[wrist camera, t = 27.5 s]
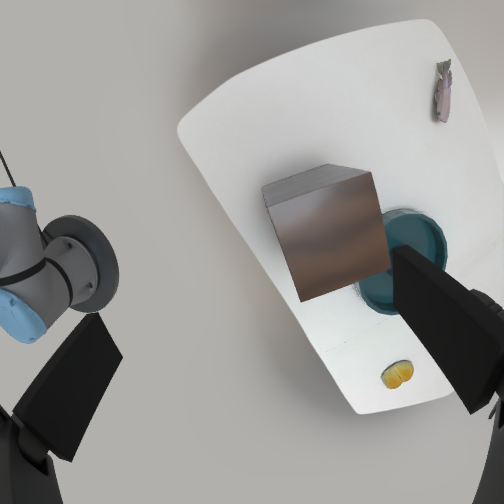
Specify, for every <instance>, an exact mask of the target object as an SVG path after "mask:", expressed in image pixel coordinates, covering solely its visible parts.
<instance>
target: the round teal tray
mask: <svg viewBox="0 0 504 504" xmlns="http://www.w3.org/2000/svg"><path fill="white" fill-rule="evenodd" d="M382 219H383V223H384V228H385V233H386V238H387V244H388V249H389V252H390V251H391V250H392V248H394V247H396V246H398V245H409V246H410V247H412V248H413V249H415V250H416V251H417V252H419V253H420V254H422V255H423V256H425V257H426V258H427V259H429V260H430V261H431V262H433V263H434V264H435V265H437V266H438V267H439V268H441V269H442V270H443V271H445V267H446V262H447V257H448V256H447V242H446V239H445V237H444V234H443V232H442V229H441V228H440V227H439V226H438V225H437V223H436V222H435V221H434V220H433V219H431V218H429V217H427V216H424V215H422V214H420V213H418V212H416V211H413V210H408V209H399V210H393V211H390V212H388V213H385V214H383V215H382ZM354 284H355V287H356V288H357V290H358V291H359V293H360V295H361V296H362V298H363V299H364V301H365V302H366V303H367V305H368V306H369V307H370V308H372V309H374V310H375V311H376V312H378V313H381V314H386V315H397V314H399V313H398V311H397V310H396V309H395V308H394V306H393V278H392V277H391V276H390V275H389V274H388V273H387V271H383V272H381V273H379V274H376V275H374V276H371V277H369V278H366V279H363V280H361V281H358V282H356V283H354Z"/></svg>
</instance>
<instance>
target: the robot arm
mask: <svg viewBox="0 0 504 504" xmlns="http://www.w3.org/2000/svg"><path fill="white" fill-rule="evenodd" d="M0 158H1V160H2V162H3V165H4V167H5V169H6V171H7V174H8V176H9V178H10V180H11V183H12V185H13V187H7V188H0V325H1V326H2V327H3V329H4V330H5V331H6V332H7V333H8V334H9V335H11V336H12V337H13V338H15V339H16V340H18V341H20V342H22V343H27V344H28V343H29V344H30V343H34V342H35V341H36V340H38V339H39V338H40V337H41V336H42V335H43V334H45V333H46V332H47V330H48V328H50V327H51V325H52V324H53V323H54V322H55V321H56V320H57V319H58V318H59V317H60V316H61V315H62V314H63V313H64V312H65V311H66V310H67V308H68V307H69V306H72V305H75V304H78V303H81V302H83V301H86V300H88V299H89V298H90V297H91V296H92V295H93V294H94V293H95V292H96V290H97V288H98V286H99V281H100V273H99V267H98V264H97V261H96V259H95V257H94V255H93V253H92V252H91V250H90V249H89V247H88V246H87V245H86V244H85V243H84V242H82V241H81V240H80V239H78V238H76V237H74V236H71V235H62V236H59V237H58V238H56V239H54V240H53V241H51V242H50V243H49V244H48V242H47V240H46V239H45V237H44V235H43V233H42V232H41V230H40V228H39V226H38V224H37V219H36V214H35V213H36V209H35V207H34V202H33V197H32V193H31V191H30V190H29V189H28V188H26V187H23V186H19V187H18V186H17V187H16V185H15V183H14V181H13V178H12V176H11V174H10V172H9V170H8V167H7V165H6V163H5V160H4V158H3V156H2V154H1V152H0ZM40 236H41V238H42V239H43V241H44V243H45V244H46V246H47V247H46V249H45V250H44V252H43V248H42V243H41V239H40ZM392 263H393V306H394V308H395V309H396V310H397V311H398V313H399V314H400V315H401V316H402V318H403V319H404V320H405V322H406V323H407V324H408V325H409V327H410V328H411V329H412V331H413V332H414V333H415V335H416V336H417V337H418V339H419V340H420V341H421V343H422V344H423V345H424V347H425V348H426V349H427V351H428V352H429V354H430V355H431V356H432V358H433V359H434V360H435V362H436V363H437V365H438V366H439V368H440V369H441V370H442V372H443V373H444V375H445V376H446V378H447V379H448V381H449V382H450V384H451V385H452V387H453V388H454V390H455V391H456V392H457V394H458V396H459V397H460V399H461V400H462V402H463V404H464V405H465V407H466V408H467V410H468V411H469V413H470V415H471V414H473V413H475V412H476V411H478V410H479V409H481V408H482V407H484V406H486V405H487V404H488V403H489V401H490V400H491V398H492V396H493V394H494V392H495V391H496V393H497V394H498V396H499V399H498V401H497V403H496V404H495V406H494V408H493V410H492V411H491V413H490V415H489V418H488V419H491V418H492V417H493V415H494V413H495V412H496V413H495V420H494V426H493V432H492V437H491V442H490V447H489V451H488V455H487V459H486V463H485V467H484V470H483V474H482V477H481V480H480V483H479V487H478V489H477V492H476V495H475V498H474V501H473V503H472V504H504V310H503V309H502V307H501V306H500V305H499V304H497V303H495V301H494V300H493V299H491V298H490V297H489V296H488V295H486V294H485V293H482V292H480V291H477V290H475V289H472V290H470V291H469V290H468V289H467V288H465V287H464V286H463V285H462V284H460V283H459V282H458V281H456V280H455V279H454V278H453V277H451V276H450V275H449V274H447V273H446V272H445V271H443V270H442V269H441V268H439V267H438V266H437V265H435V264H434V263H433V262H431V261H430V260H429V259H427V258H426V257H425V256H423V255H422V254H420V253H419V252H417V251H416V250H415V249H413V248H412V247H410V246H409V245H403V246H399V247H396V248H392ZM122 359H123V356H122V355H121V353H120V351H119V350H118V348H117V346H116V345H115V343H114V341H113V339H112V337H111V335H110V334H109V332H108V330H107V328H106V326H105V324H104V323H103V321H102V319H101V317H100V315H99V313H98V312H96V313H90V314H86V316H85V317H84V318H83V319H82V320H81V322H80V323H79V324H78V325H77V326H76V327H75V328H74V330H73V331H72V332H71V333H70V335H69V336H68V337H67V338H66V339H65V341H64V342H63V343H62V344H61V345H60V347H59V348H58V349H57V350H56V352H55V353H54V354H53V356H52V357H51V358H50V359H49V361H48V362H47V363H46V364H45V366H44V367H43V368H42V370H41V371H40V372H39V374H38V375H37V376H36V378H35V379H34V381H33V382H32V383H31V385H30V386H29V387H28V389H27V390H26V392H25V393H24V394H23V396H22V397H21V399H20V400H19V402H18V403H17V405H16V406H15V407H14V409H13V411H12V412H13V415H12V416H11V417H10V416H9V415H8V413H7V412H6V411H5V410H4V409H3V407H2V406H1V405H0V504H63V501H62V498H61V494H60V490H59V486H58V482H57V478H56V474H55V470H54V465H53V460H52V458H51V457H50V456H49V455H48V454H47V453H48V451H49V450H50V451H51V452H53V453H54V454H55V455H56V456H57V457H58V458H60V459H63V460H66V461H69V462H72V460H73V458H74V456H75V453H76V451H77V449H78V447H79V445H80V442H81V440H82V438H83V436H84V434H85V431H86V429H87V427H88V425H89V423H90V421H91V419H92V417H93V414H94V412H95V411H96V409H97V406H98V405H99V403H100V400H101V399H102V397H103V395H104V393H105V391H106V389H107V387H108V385H109V383H110V381H111V379H112V377H113V375H114V373H115V372H116V370H117V368H118V366H119V364H120V362H121V360H122Z"/></svg>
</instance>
